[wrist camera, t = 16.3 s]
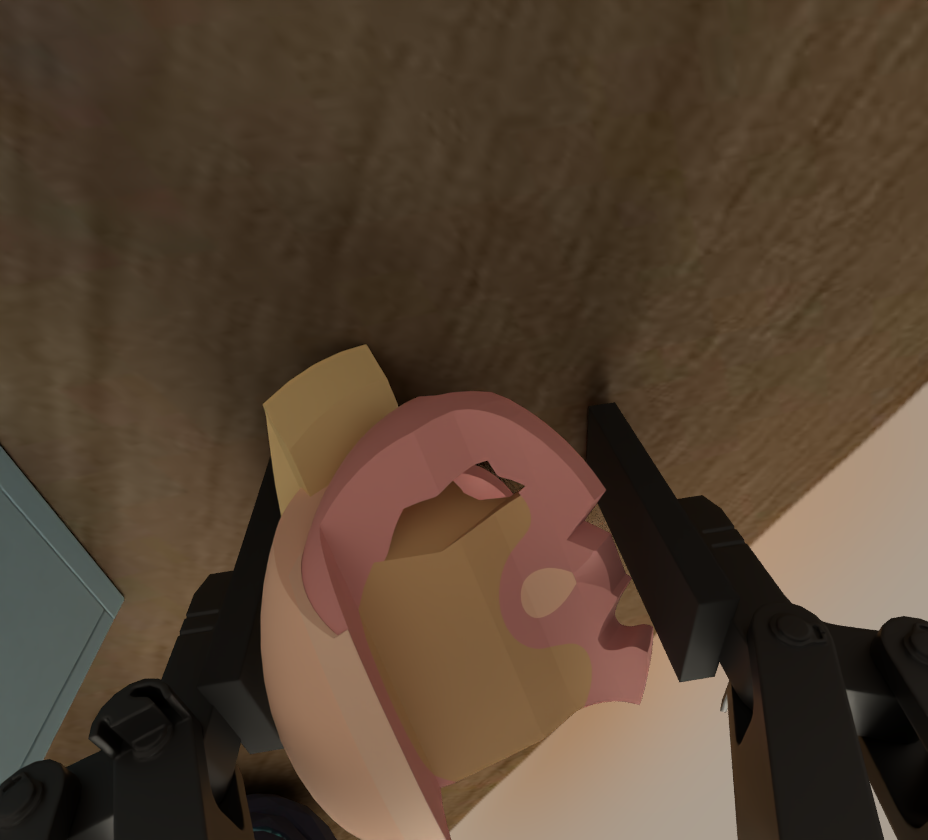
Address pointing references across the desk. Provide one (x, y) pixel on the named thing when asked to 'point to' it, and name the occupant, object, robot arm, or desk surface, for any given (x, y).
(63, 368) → the desk surface
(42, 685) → the tote
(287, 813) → the portable speaker
